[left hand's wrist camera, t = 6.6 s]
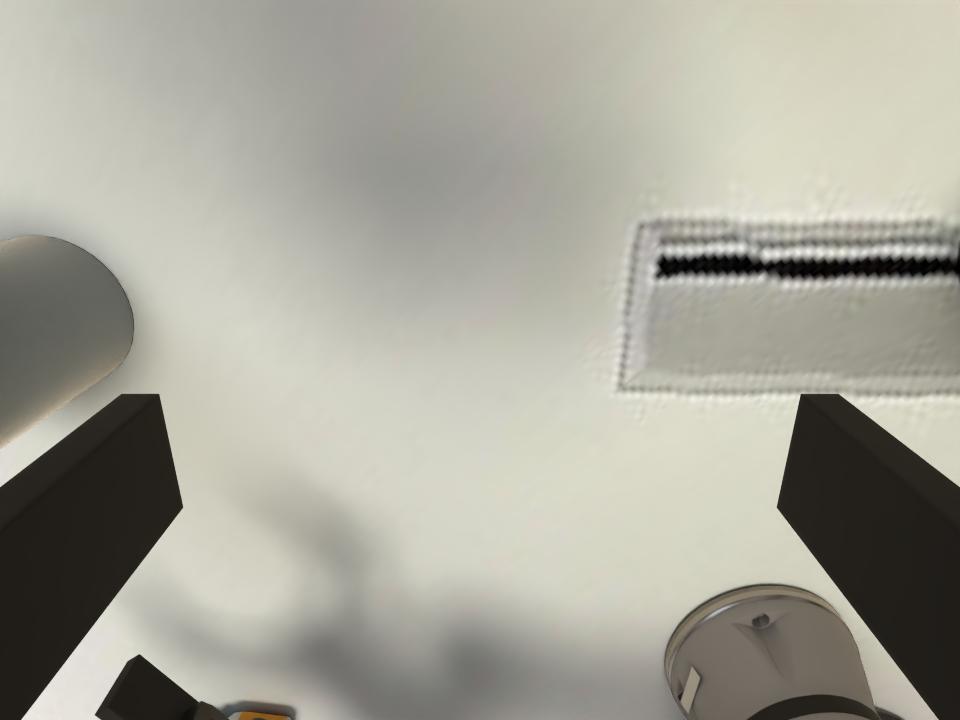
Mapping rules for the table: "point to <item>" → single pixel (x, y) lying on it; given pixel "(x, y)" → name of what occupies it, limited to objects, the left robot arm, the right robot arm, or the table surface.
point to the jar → (55, 328)
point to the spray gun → (256, 716)
